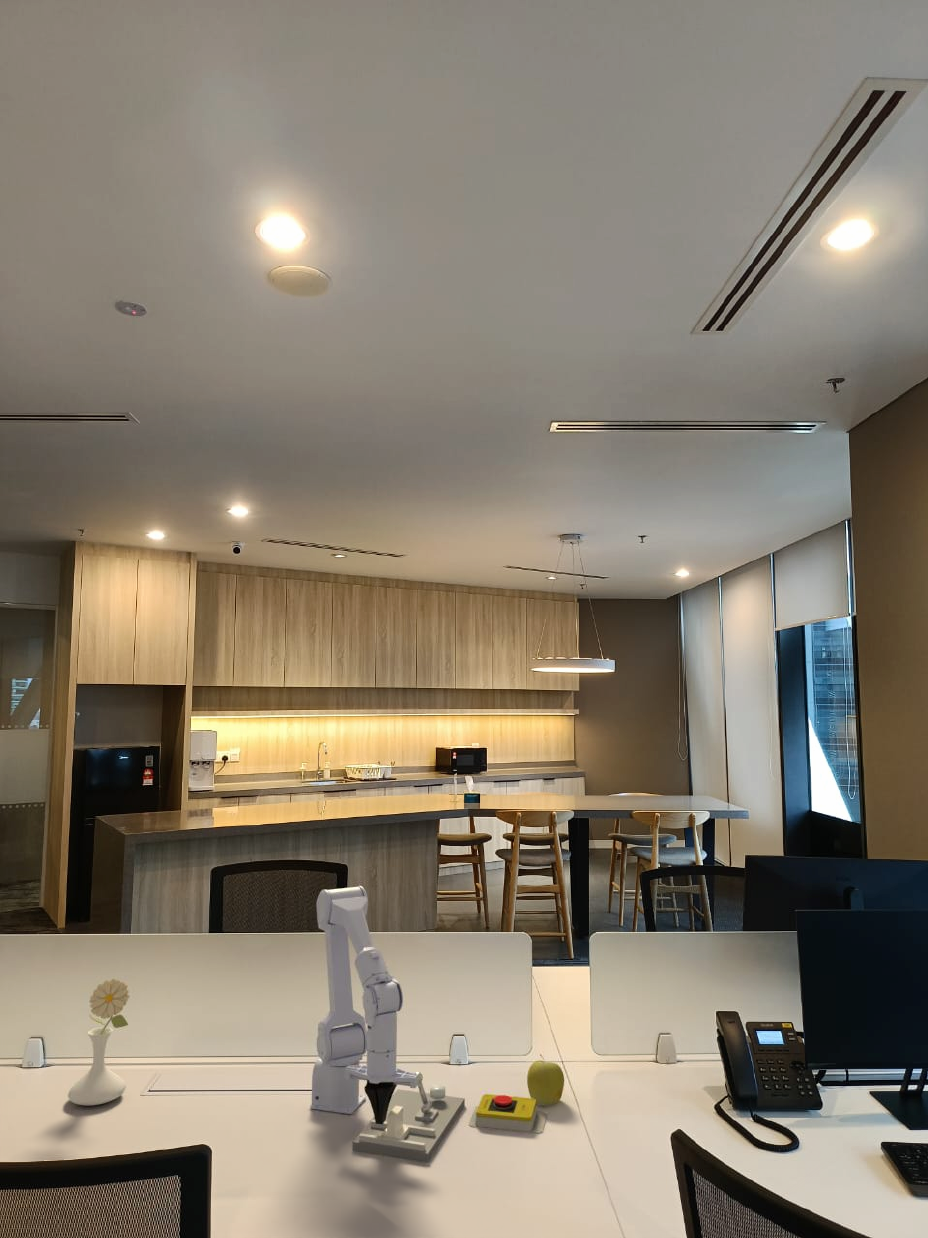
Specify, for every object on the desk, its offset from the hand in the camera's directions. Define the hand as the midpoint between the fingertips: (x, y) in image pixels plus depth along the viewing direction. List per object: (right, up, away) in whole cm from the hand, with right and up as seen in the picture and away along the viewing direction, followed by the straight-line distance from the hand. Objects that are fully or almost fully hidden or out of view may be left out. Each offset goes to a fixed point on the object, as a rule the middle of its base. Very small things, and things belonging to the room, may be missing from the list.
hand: (380, 1122), depth 165 cm
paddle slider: (+3, -2, -1) cm, 4 cm away
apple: (+33, -6, +18) cm, 38 cm away
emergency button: (+25, -6, +9) cm, 27 cm away
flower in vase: (-61, -6, +18) cm, 64 cm away
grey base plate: (+6, -5, +6) cm, 10 cm away
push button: (+11, -3, +14) cm, 18 cm away
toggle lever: (+9, -2, +8) cm, 12 cm away
